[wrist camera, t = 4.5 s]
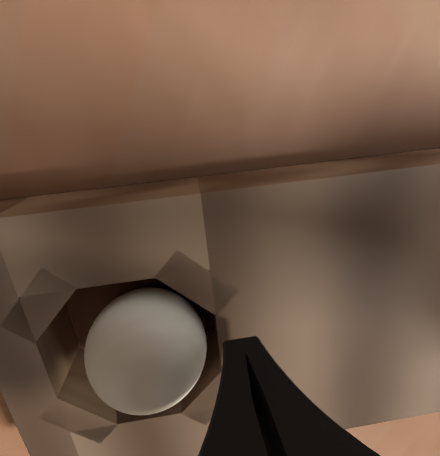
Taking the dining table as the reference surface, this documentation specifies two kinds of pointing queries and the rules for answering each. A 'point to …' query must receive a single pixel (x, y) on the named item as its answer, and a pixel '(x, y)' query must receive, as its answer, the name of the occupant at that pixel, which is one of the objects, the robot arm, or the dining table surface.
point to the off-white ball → (145, 351)
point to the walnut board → (232, 293)
